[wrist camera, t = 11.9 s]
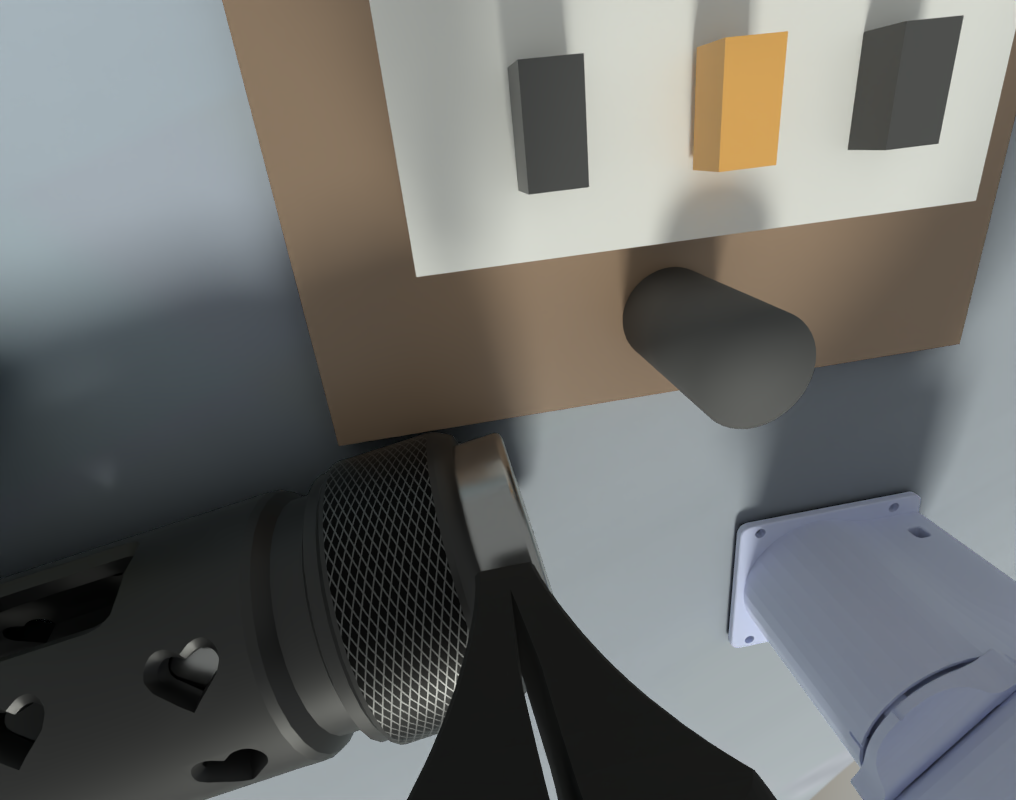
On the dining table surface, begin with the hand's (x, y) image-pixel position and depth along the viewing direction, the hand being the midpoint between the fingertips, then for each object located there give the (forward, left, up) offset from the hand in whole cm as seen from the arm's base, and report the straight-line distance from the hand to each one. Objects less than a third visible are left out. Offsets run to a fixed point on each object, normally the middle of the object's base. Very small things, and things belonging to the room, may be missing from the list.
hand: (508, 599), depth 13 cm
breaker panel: (-8, -10, -10) cm, 16 cm away
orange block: (-8, -10, -6) cm, 14 cm away
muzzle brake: (+11, +11, -7) cm, 17 cm away
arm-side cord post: (-8, -3, -9) cm, 13 cm away
